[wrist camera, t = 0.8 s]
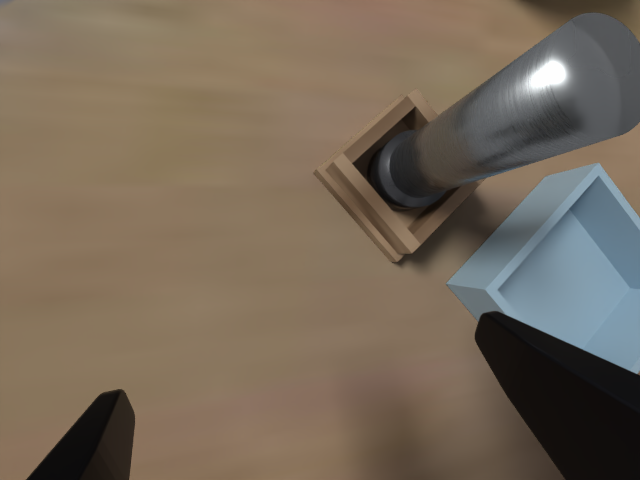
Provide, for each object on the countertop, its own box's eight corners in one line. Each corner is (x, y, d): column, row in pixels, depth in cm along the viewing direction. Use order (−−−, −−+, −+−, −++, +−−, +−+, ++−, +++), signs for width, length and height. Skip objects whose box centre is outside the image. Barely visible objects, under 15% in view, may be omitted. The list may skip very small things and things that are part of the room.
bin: (631, 287, 27) (695, 293, 23) (544, 399, 25) (599, 425, 21) (545, 176, 26) (598, 162, 22) (445, 283, 24) (484, 289, 20)
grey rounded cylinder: (443, 181, 23) (687, 90, 10) (398, 225, 22) (603, 187, 9) (400, 129, 22) (602, -35, 10) (352, 172, 21) (504, 55, 9)
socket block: (464, 186, 24) (494, 177, 21) (390, 261, 23) (411, 262, 20) (395, 100, 23) (416, 78, 21) (313, 173, 22) (323, 160, 19)
